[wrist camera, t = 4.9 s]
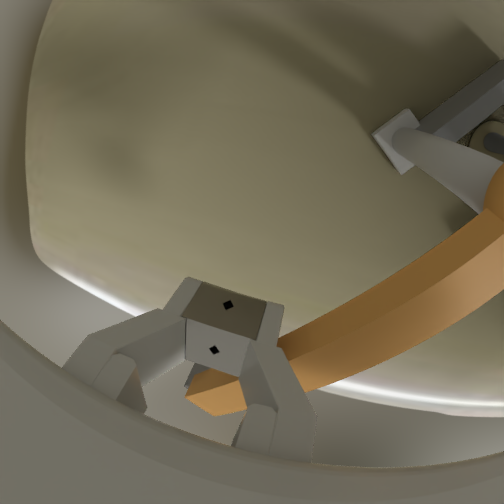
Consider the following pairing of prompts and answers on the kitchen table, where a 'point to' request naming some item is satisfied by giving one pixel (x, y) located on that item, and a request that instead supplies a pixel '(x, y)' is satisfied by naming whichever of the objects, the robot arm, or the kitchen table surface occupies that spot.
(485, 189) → the cradle
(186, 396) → the bar
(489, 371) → the kitchen table surface
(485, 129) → the beer glass
